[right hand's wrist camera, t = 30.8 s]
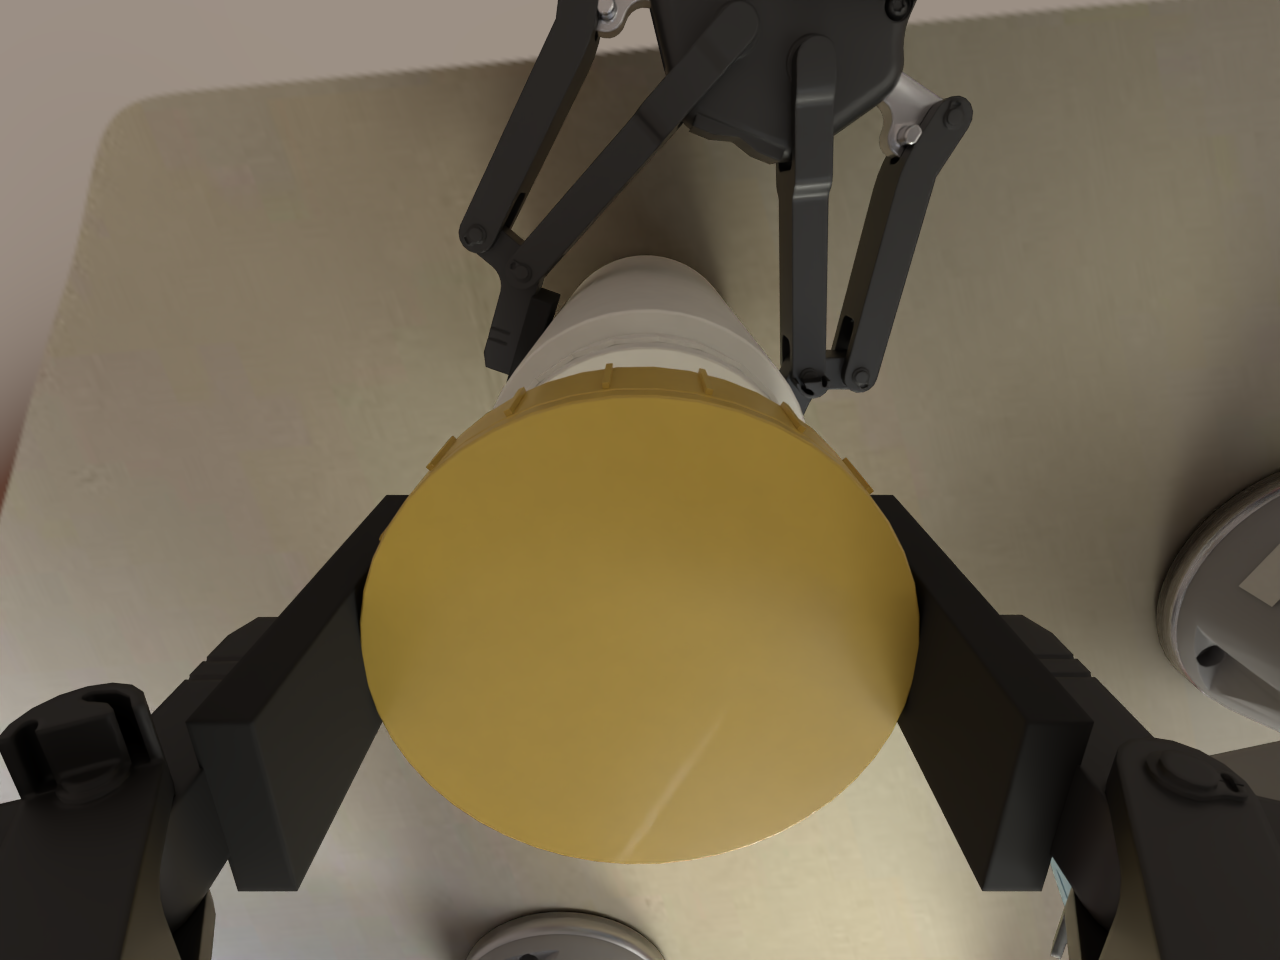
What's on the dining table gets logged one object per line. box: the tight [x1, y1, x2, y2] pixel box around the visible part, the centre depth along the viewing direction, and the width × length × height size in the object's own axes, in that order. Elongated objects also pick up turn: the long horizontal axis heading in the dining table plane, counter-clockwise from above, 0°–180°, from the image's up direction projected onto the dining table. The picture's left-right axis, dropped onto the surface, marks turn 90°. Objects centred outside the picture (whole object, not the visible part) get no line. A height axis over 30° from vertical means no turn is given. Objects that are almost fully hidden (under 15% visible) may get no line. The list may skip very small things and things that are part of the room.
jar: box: [493, 255, 806, 424], centre depth 24 cm, size 8×8×18 cm
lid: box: [360, 363, 920, 864], centre depth 12 cm, size 9×9×2 cm
